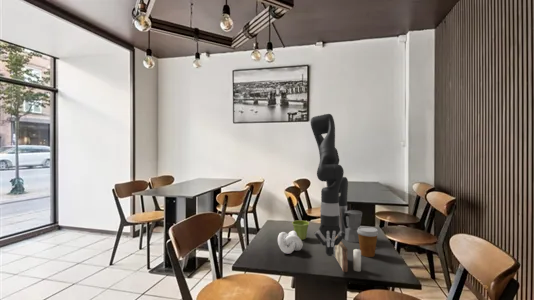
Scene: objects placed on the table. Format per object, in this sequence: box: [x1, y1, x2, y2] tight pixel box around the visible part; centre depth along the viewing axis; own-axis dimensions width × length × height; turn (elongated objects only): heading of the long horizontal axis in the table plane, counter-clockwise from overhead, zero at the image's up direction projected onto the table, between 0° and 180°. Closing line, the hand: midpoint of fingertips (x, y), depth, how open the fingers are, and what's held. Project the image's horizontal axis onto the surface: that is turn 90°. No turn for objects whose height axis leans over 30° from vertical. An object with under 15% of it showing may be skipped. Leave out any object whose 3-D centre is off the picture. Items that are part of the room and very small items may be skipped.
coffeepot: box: [343, 206, 363, 243], centre depth 156 cm, size 15×9×18 cm, turn 129°
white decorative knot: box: [277, 230, 304, 254], centre depth 140 cm, size 11×12×9 cm
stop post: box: [352, 248, 362, 272], centre depth 119 cm, size 3×3×8 cm
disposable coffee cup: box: [357, 226, 379, 258], centre depth 136 cm, size 10×10×12 cm
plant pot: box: [291, 220, 310, 241], centre depth 159 cm, size 9×9×9 cm
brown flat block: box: [335, 236, 348, 273], centre depth 123 cm, size 16×2×10 cm, turn 179°
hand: (329, 255), depth 119 cm, fingers closed
